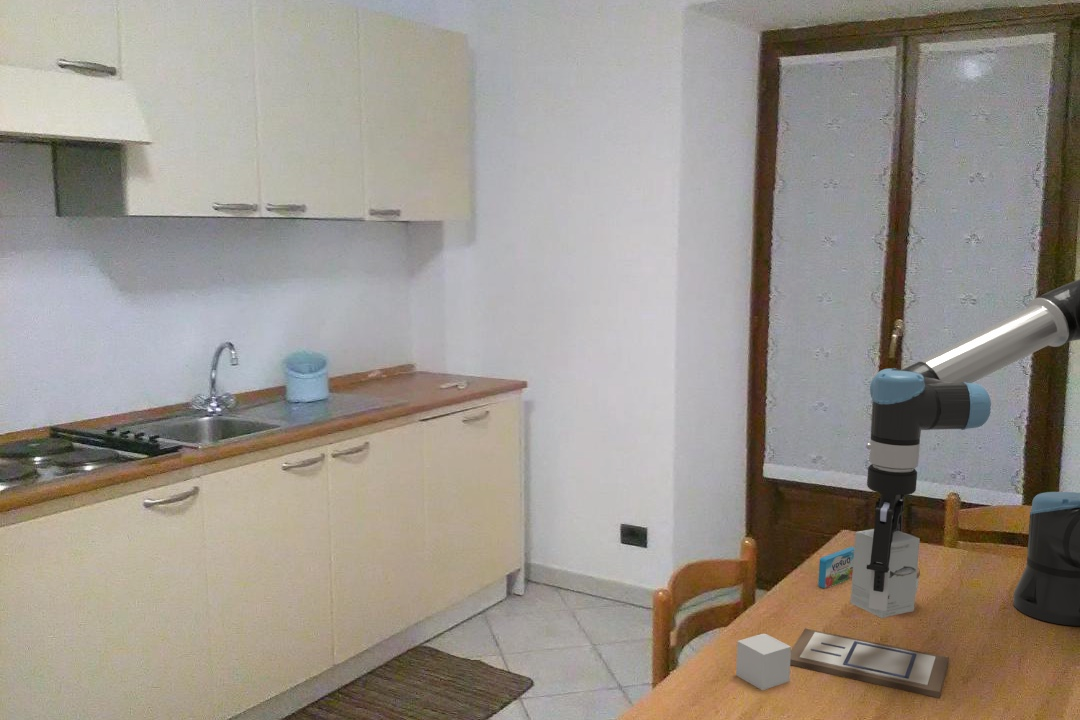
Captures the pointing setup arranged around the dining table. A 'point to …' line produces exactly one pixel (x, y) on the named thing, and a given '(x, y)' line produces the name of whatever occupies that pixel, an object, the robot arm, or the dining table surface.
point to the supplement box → (900, 573)
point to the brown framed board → (870, 662)
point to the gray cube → (763, 661)
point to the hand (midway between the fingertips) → (883, 598)
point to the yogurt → (836, 567)
